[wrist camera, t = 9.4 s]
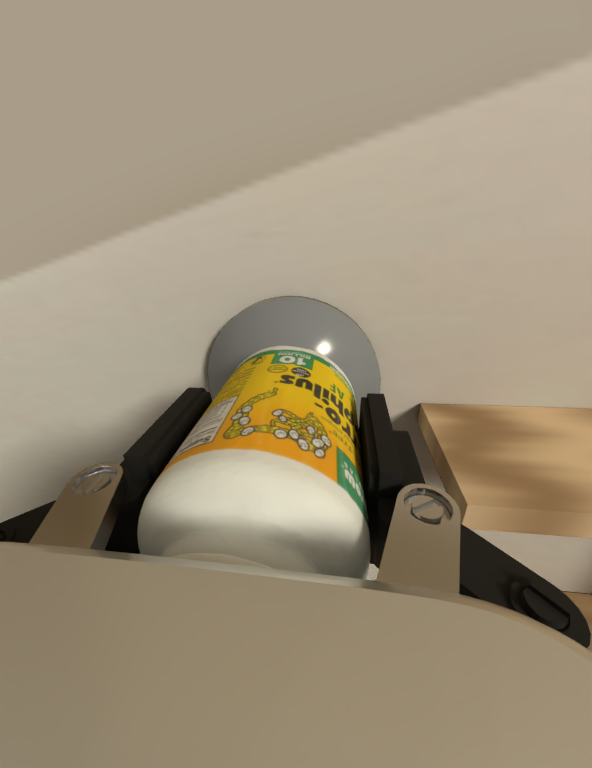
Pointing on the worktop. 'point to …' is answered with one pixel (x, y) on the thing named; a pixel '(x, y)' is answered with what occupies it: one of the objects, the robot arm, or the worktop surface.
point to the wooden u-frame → (516, 469)
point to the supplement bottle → (268, 474)
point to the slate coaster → (296, 340)
